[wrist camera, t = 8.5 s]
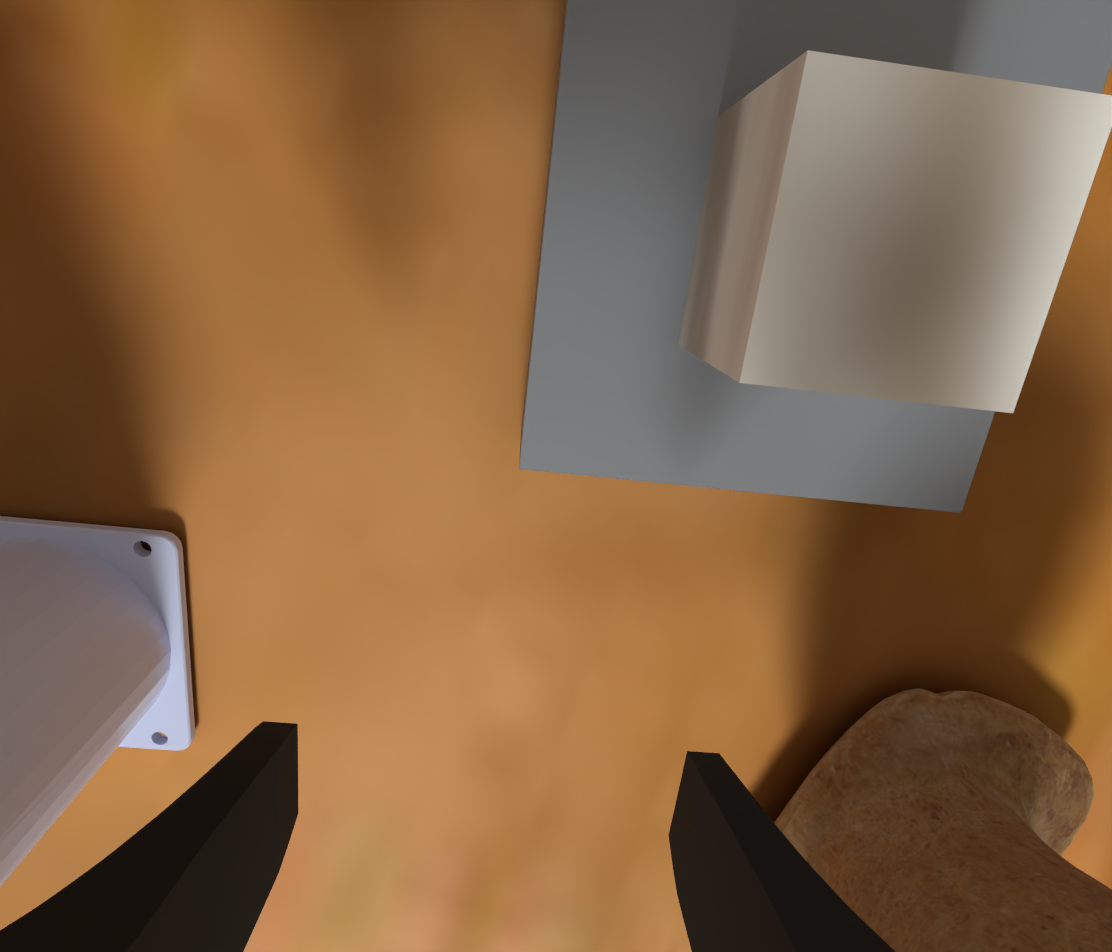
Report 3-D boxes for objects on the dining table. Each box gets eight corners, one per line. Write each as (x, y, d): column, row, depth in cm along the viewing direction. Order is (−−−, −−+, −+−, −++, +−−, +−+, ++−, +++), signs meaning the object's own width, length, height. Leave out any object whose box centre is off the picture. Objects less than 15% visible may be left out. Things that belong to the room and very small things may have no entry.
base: (520, 438, 20) (519, 469, 17) (569, -36, 16) (577, -99, 13) (902, 477, 21) (961, 513, 18) (1033, 36, 17) (1135, -8, 14)
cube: (678, 344, 16) (738, 383, 11) (717, 116, 14) (807, 49, 10) (874, 367, 16) (1013, 413, 12) (933, 147, 15) (1122, 97, 10)
